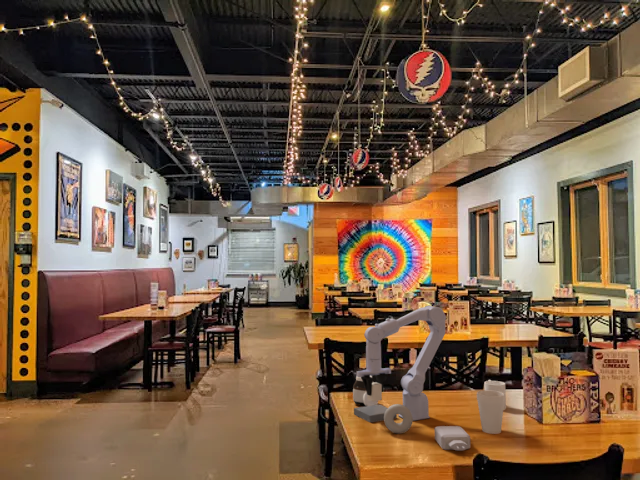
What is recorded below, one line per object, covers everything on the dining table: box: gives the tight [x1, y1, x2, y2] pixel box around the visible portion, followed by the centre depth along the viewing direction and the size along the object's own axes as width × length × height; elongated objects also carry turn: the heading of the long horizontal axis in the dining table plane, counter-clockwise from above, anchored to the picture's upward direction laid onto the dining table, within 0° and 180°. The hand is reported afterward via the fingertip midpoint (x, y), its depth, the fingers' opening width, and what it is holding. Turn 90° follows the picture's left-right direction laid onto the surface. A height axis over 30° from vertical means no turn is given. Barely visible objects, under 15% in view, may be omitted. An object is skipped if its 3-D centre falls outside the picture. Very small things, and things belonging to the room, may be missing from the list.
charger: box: [434, 425, 471, 451], centre depth 160 cm, size 5×9×15 cm
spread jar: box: [352, 375, 379, 407], centre depth 212 cm, size 12×11×12 cm
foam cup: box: [476, 389, 505, 435], centre depth 177 cm, size 10×9×13 cm
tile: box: [353, 403, 398, 423], centre depth 195 cm, size 12×12×2 cm
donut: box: [383, 403, 413, 435], centre depth 174 cm, size 10×4×10 cm, turn 82°
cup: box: [483, 379, 507, 411], centre depth 209 cm, size 8×12×10 cm
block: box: [367, 381, 383, 402], centre depth 192 cm, size 4×4×6 cm
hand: (374, 394), depth 192 cm, fingers closed on block, 4 cm apart
